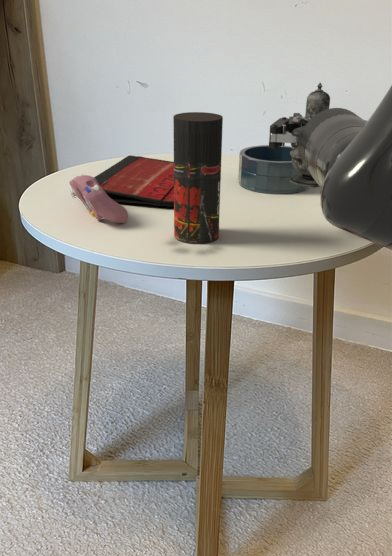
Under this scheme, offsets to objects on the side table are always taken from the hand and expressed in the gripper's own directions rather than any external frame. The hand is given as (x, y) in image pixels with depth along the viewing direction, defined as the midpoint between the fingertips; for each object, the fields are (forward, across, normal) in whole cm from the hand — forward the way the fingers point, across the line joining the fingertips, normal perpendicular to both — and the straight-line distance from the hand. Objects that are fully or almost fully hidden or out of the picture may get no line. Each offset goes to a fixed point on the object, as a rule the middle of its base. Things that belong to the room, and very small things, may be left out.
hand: (311, 121), depth 78 cm
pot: (+20, +1, +14) cm, 24 cm away
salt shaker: (-3, 0, +7) cm, 8 cm away
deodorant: (-5, +15, +14) cm, 21 cm away
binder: (+17, +22, +14) cm, 31 cm away
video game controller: (+2, +29, +14) cm, 32 cm away
